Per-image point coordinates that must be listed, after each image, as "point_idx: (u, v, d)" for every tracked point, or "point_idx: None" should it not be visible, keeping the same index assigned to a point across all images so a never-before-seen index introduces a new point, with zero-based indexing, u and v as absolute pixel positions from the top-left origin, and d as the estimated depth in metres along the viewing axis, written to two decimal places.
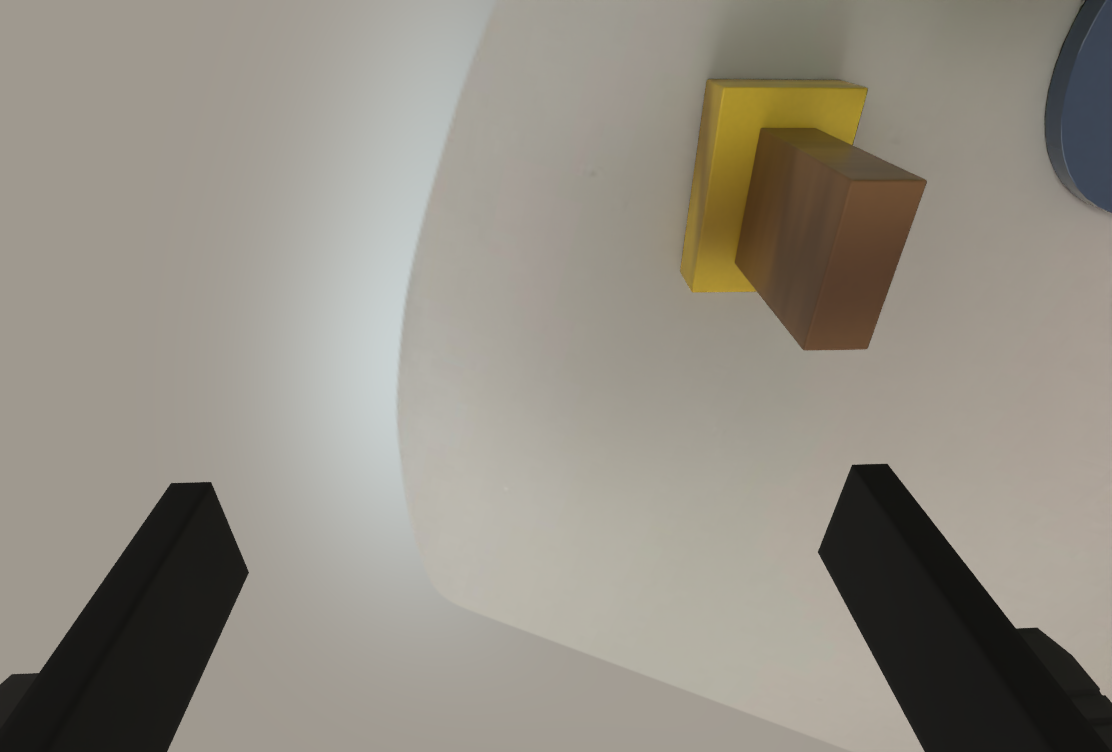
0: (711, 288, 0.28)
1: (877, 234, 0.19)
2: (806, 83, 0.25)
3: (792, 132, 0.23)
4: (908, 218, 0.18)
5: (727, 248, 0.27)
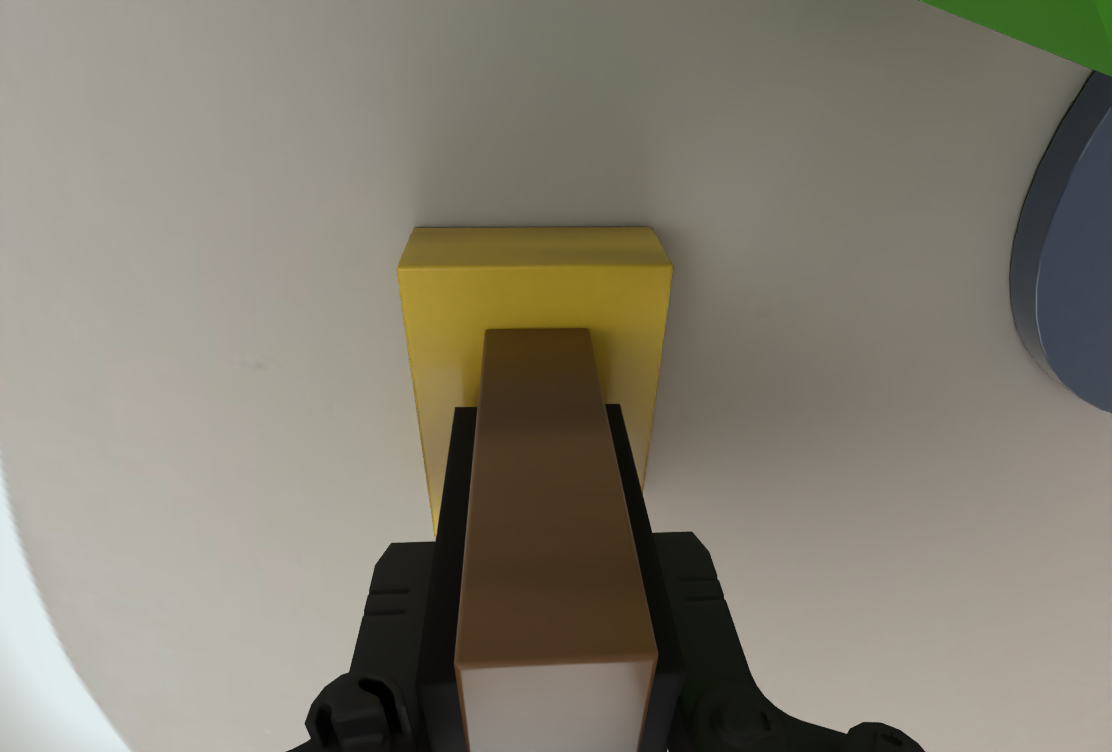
0: None
1: (567, 735, 0.08)
2: (574, 244, 0.14)
3: (528, 350, 0.13)
4: (633, 711, 0.07)
5: None
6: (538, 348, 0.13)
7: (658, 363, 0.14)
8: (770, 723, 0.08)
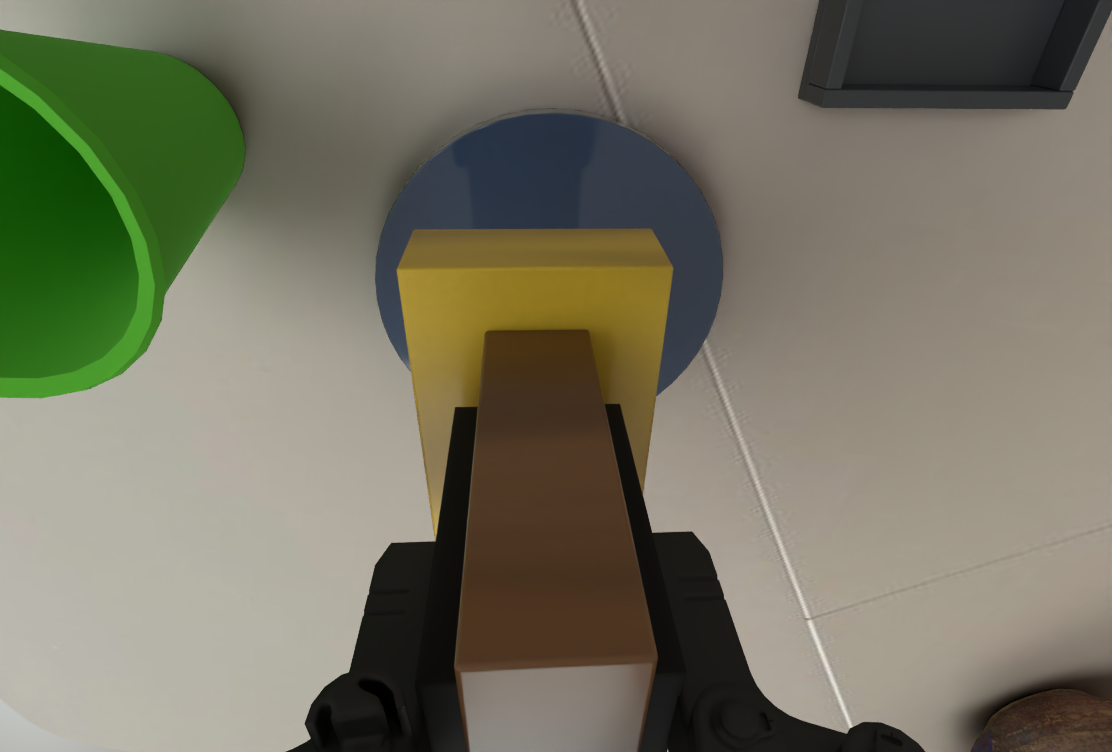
0: None
1: (567, 736, 0.08)
2: (574, 246, 0.14)
3: (528, 352, 0.13)
4: (632, 713, 0.07)
5: None
6: (538, 350, 0.13)
7: (658, 364, 0.14)
8: (770, 723, 0.08)
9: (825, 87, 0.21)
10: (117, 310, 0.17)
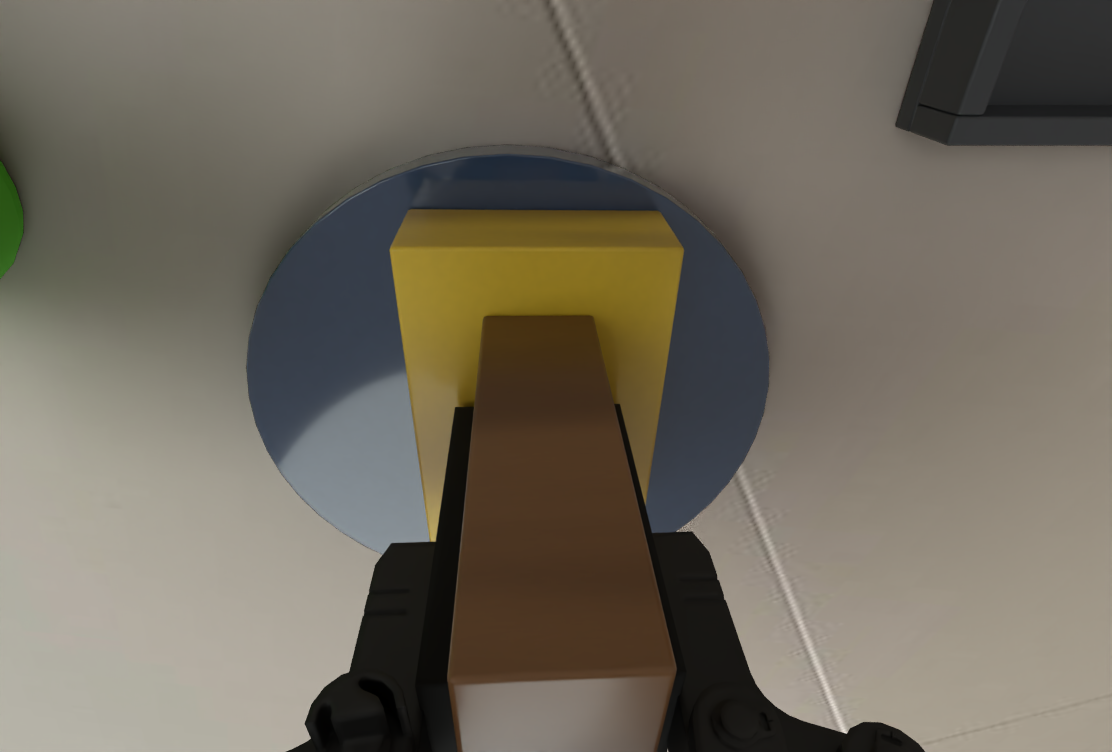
0: None
1: None
2: (579, 227, 0.13)
3: (529, 337, 0.12)
4: (646, 730, 0.07)
5: None
6: (540, 335, 0.12)
7: (666, 354, 0.13)
8: (770, 724, 0.08)
9: (956, 113, 0.12)
10: None
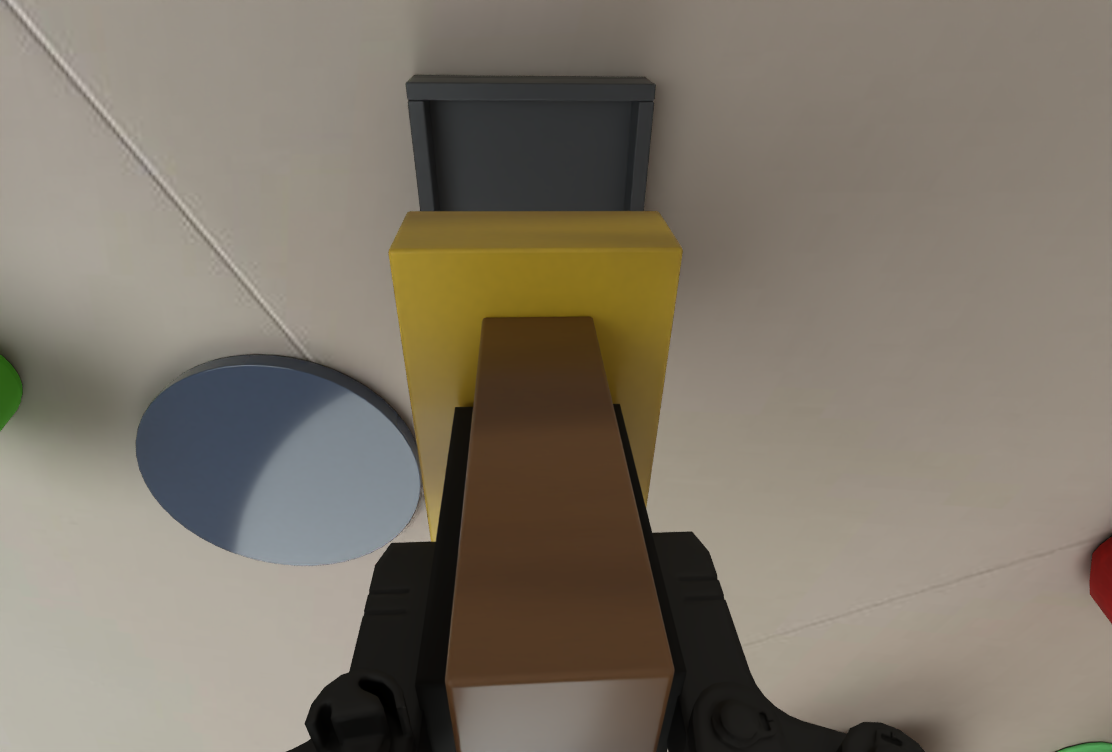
0: None
1: None
2: (577, 228, 0.13)
3: (528, 339, 0.12)
4: (645, 732, 0.07)
5: None
6: (539, 337, 0.12)
7: (666, 354, 0.13)
8: (770, 723, 0.08)
9: None
10: None
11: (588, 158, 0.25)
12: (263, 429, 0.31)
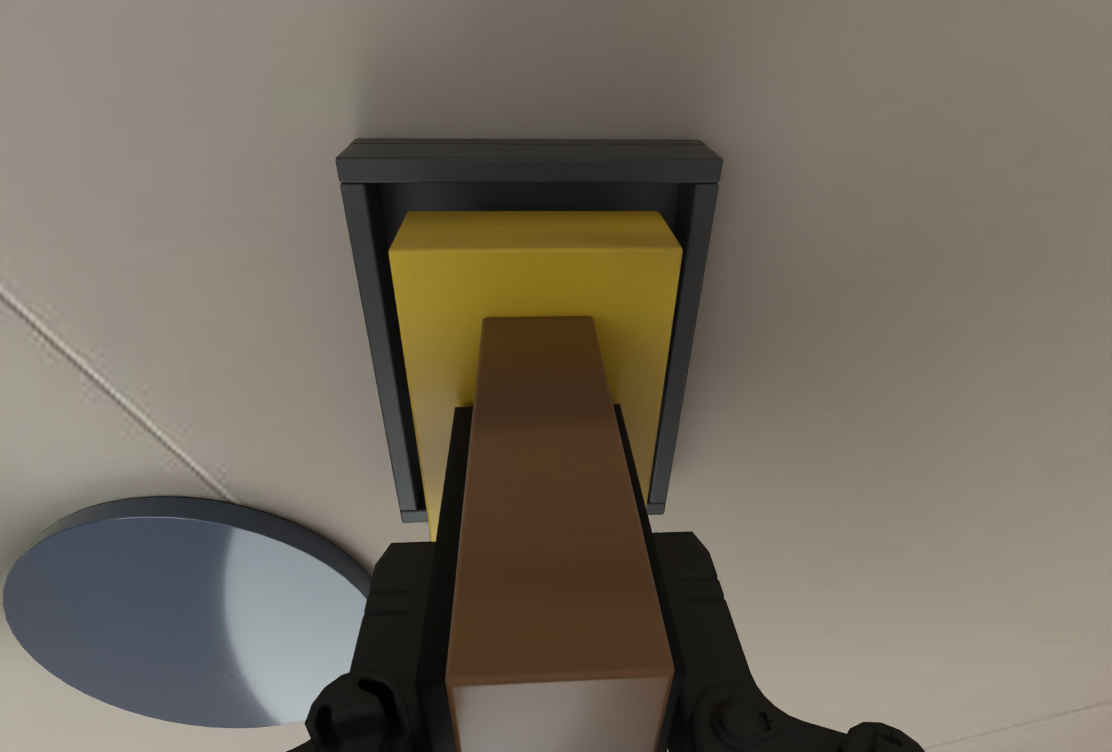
0: None
1: None
2: (577, 228, 0.13)
3: (528, 339, 0.12)
4: (645, 732, 0.07)
5: None
6: (539, 337, 0.12)
7: (666, 354, 0.13)
8: (770, 723, 0.08)
9: (400, 508, 0.20)
10: None
11: None
12: (173, 588, 0.23)
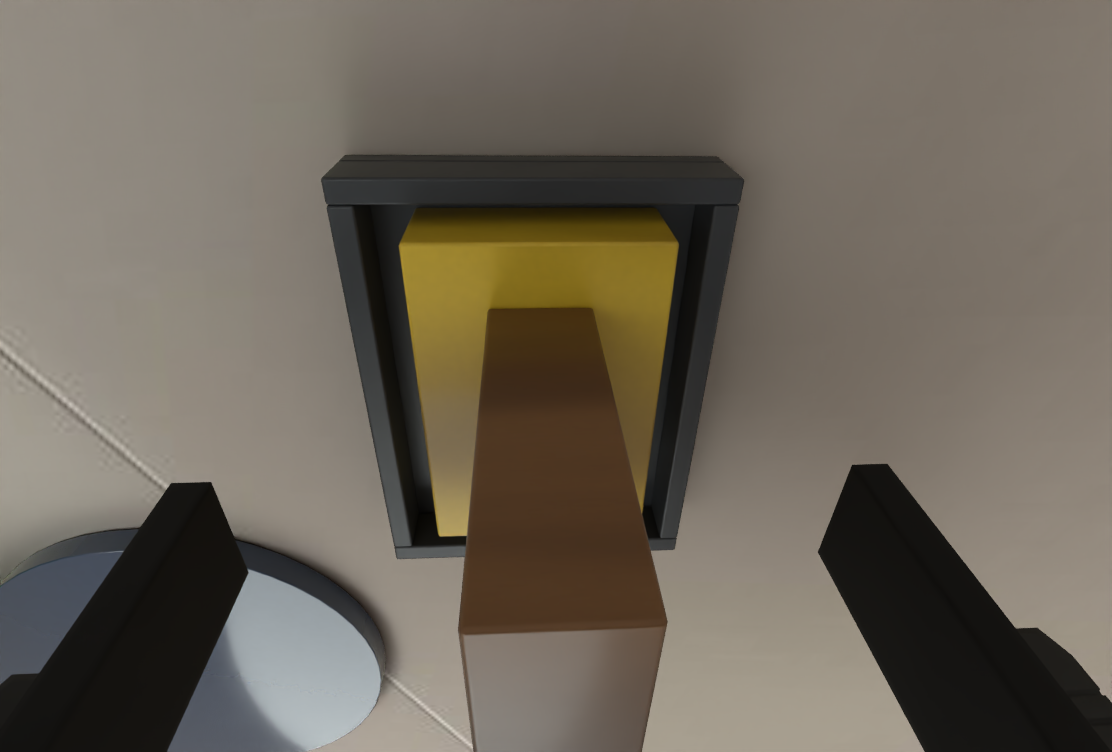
0: None
1: (573, 706, 0.08)
2: (578, 223, 0.14)
3: (531, 328, 0.12)
4: (641, 682, 0.07)
5: None
6: (542, 326, 0.12)
7: (663, 344, 0.14)
8: None
9: (395, 544, 0.19)
10: None
11: None
12: None
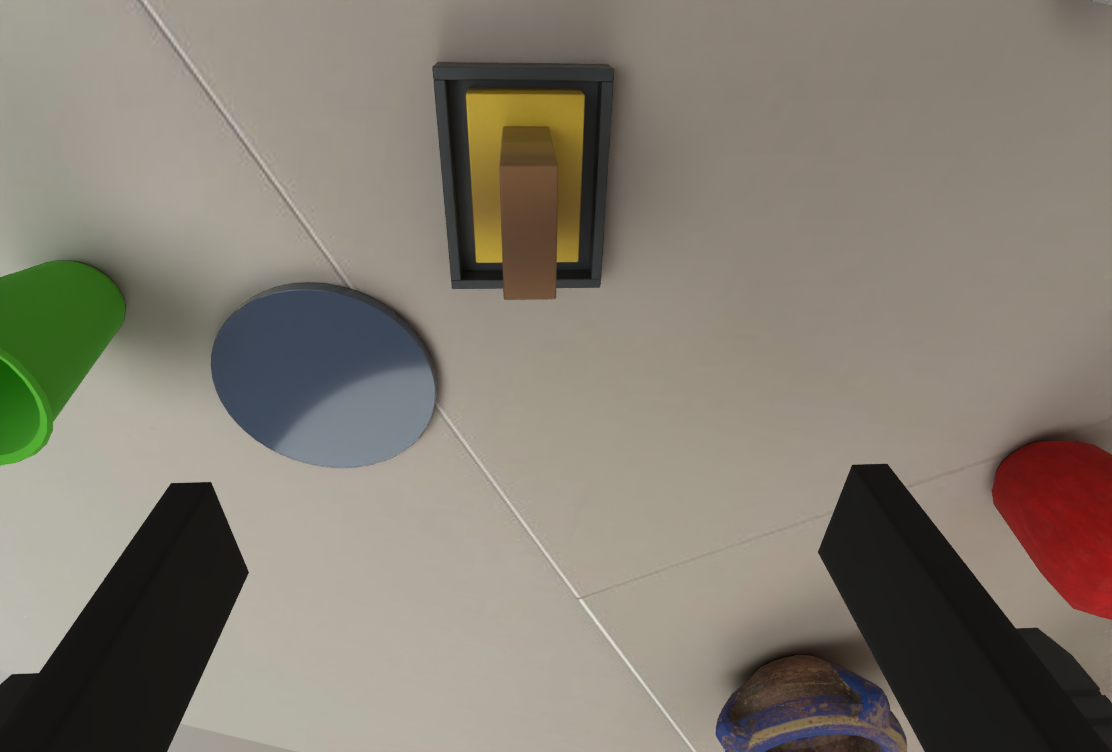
0: (492, 259, 0.34)
1: (532, 207, 0.25)
2: (543, 90, 0.31)
3: (521, 130, 0.29)
4: (552, 194, 0.24)
5: (498, 225, 0.33)
6: (526, 129, 0.29)
7: (581, 147, 0.31)
8: None
9: None
10: (38, 416, 0.32)
11: None
12: (312, 344, 0.39)
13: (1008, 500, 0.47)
